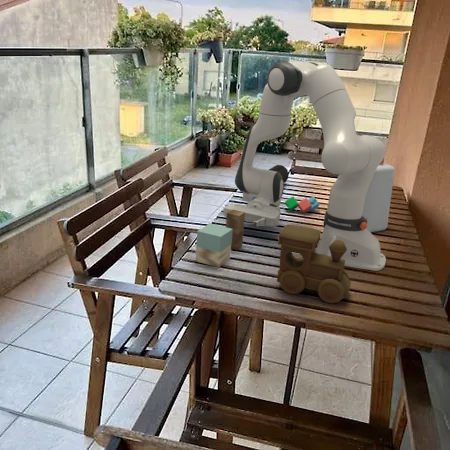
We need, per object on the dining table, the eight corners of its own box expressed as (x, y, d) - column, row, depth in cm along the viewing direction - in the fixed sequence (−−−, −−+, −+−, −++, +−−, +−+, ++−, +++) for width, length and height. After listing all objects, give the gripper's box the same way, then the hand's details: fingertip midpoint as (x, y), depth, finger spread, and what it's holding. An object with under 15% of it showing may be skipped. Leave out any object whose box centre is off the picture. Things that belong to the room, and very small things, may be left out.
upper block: (231, 243, 139) (232, 228, 137) (219, 252, 132) (220, 236, 130) (209, 238, 142) (209, 223, 140) (196, 246, 135) (197, 230, 133)
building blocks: (296, 221, 191) (319, 206, 191) (295, 215, 183) (319, 199, 183) (286, 207, 194) (309, 192, 194) (284, 201, 186) (308, 185, 186)
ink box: (263, 201, 199) (266, 176, 195) (258, 204, 195) (261, 178, 191) (247, 197, 203) (249, 172, 199) (241, 199, 199) (243, 174, 195)
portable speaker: (270, 181, 234) (272, 162, 230) (288, 184, 230) (291, 165, 227) (253, 192, 212) (255, 172, 208) (273, 196, 208) (275, 175, 205)
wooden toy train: (270, 291, 122) (277, 235, 116) (281, 274, 132) (287, 221, 126) (344, 309, 116) (355, 250, 110) (349, 290, 126) (360, 235, 120)
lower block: (230, 258, 141) (231, 243, 139) (219, 267, 134) (220, 252, 132) (207, 252, 144) (208, 238, 142) (195, 261, 137) (196, 246, 135)
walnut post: (242, 245, 150) (245, 212, 146) (236, 250, 147) (239, 215, 142) (230, 242, 152) (232, 209, 148) (224, 247, 148) (226, 213, 144)
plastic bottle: (335, 221, 180) (346, 153, 170) (363, 217, 187) (375, 151, 177) (362, 235, 168) (376, 161, 158) (391, 230, 174) (406, 160, 165)
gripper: (232, 197, 167) (216, 206, 155) (284, 207, 159) (271, 218, 148) (231, 213, 170) (215, 223, 158) (282, 224, 162) (269, 236, 150)
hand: (242, 221), depth 153 cm, fingers open, 8 cm apart
